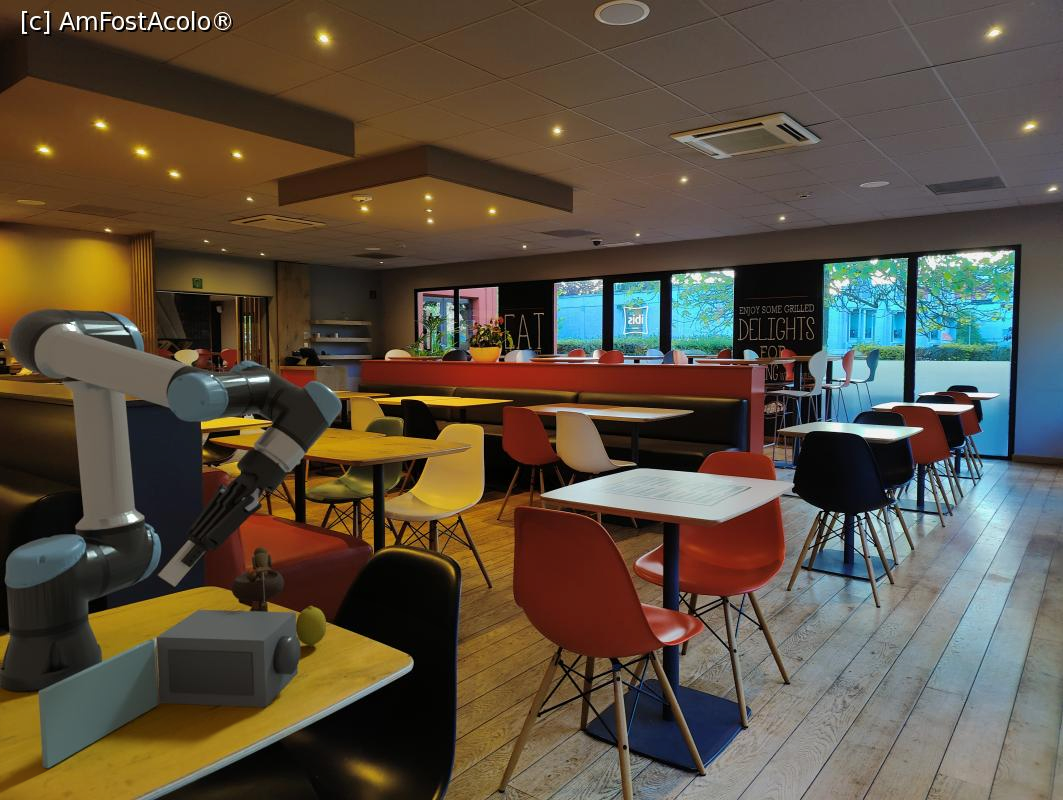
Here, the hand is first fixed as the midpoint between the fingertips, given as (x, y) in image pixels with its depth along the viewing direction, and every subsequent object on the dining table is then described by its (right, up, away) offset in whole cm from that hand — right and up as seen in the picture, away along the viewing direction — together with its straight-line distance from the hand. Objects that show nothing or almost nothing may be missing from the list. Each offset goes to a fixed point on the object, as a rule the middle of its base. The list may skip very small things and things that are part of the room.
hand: (166, 580), depth 108 cm
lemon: (+13, -20, +28) cm, 37 cm away
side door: (-8, -22, -2) cm, 24 cm away
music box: (+3, -20, +28) cm, 35 cm away
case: (+6, -21, +12) cm, 25 cm away
